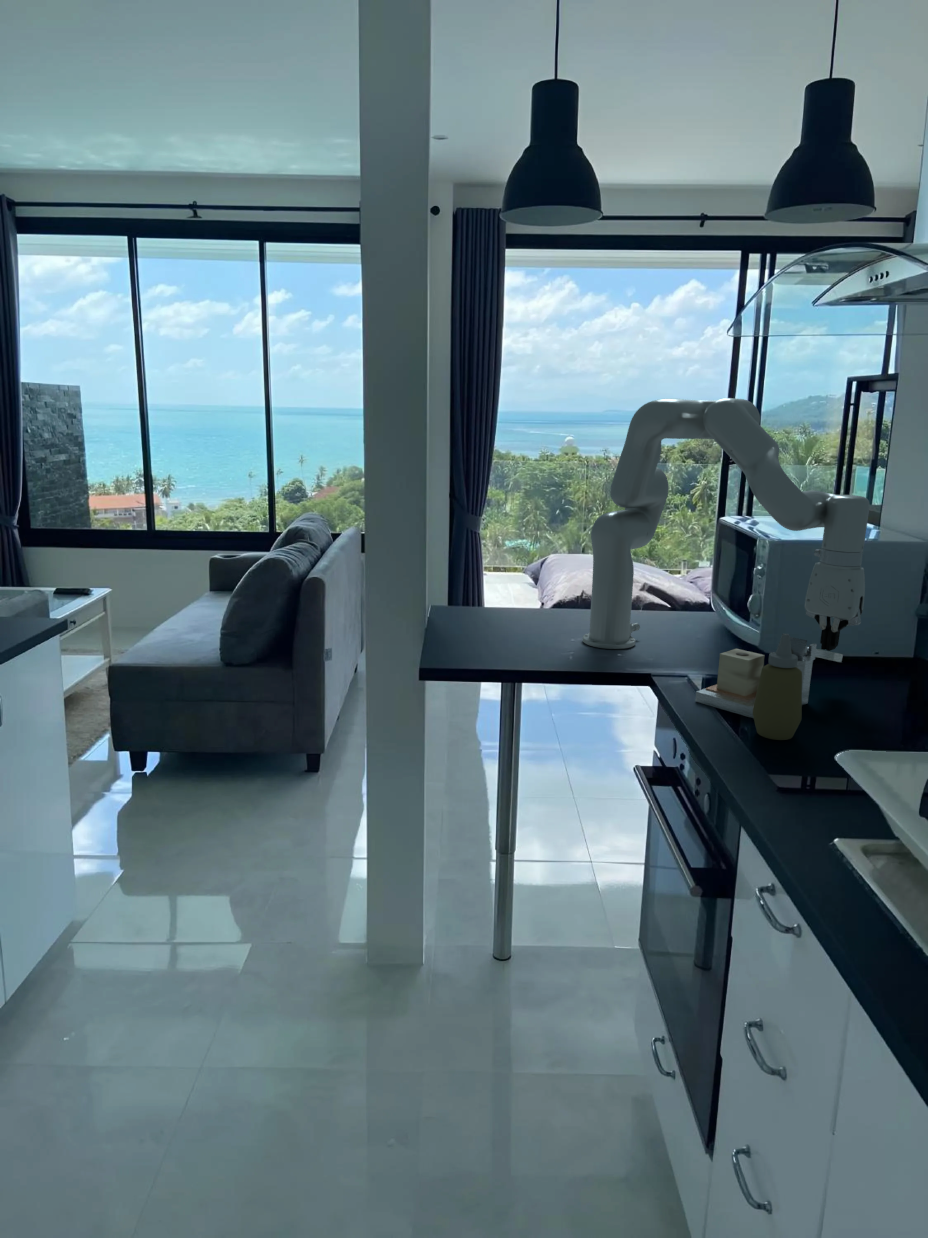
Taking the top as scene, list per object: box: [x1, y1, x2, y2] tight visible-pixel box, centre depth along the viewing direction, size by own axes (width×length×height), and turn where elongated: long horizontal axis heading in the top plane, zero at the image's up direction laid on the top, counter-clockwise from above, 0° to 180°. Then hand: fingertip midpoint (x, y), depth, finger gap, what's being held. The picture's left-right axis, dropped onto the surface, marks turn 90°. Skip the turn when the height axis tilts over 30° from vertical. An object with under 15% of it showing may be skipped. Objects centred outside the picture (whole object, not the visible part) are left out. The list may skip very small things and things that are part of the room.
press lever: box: [790, 636, 844, 663], centre depth 168 cm, size 21×4×4 cm, turn 133°
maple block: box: [716, 648, 766, 696], centre depth 167 cm, size 6×6×7 cm
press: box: [694, 643, 818, 719], centre depth 166 cm, size 16×15×12 cm
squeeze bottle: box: [753, 633, 803, 741], centre depth 148 cm, size 8×8×18 cm
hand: (828, 648), depth 174 cm, fingers closed
